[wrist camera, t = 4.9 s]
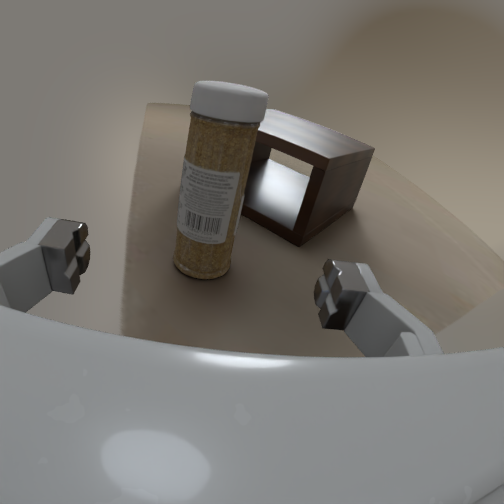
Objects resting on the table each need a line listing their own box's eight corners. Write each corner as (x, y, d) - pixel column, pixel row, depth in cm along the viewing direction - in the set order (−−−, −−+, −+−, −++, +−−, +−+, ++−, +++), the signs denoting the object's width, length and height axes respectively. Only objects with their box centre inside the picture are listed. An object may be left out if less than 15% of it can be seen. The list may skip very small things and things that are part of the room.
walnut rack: (299, 247, 29) (329, 158, 24) (184, 182, 35) (195, 109, 30) (352, 207, 40) (375, 148, 35) (260, 163, 47) (274, 109, 42)
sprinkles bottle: (239, 260, 25) (280, 93, 17) (210, 291, 21) (250, 92, 14) (192, 238, 26) (219, 79, 18) (159, 264, 22) (179, 78, 15)
